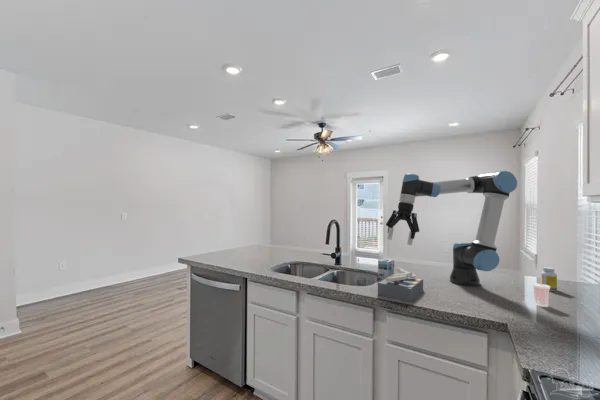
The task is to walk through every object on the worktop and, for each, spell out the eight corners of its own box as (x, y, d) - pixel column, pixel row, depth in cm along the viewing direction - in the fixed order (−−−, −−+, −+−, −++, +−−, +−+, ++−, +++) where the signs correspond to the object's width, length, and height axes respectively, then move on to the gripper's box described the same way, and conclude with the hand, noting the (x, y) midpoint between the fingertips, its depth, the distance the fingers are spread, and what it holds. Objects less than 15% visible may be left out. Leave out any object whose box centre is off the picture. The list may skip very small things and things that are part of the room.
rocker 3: (415, 277, 149) (416, 274, 148) (413, 279, 146) (414, 276, 145) (397, 269, 154) (397, 266, 154) (394, 270, 152) (395, 267, 151)
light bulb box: (388, 280, 168) (388, 262, 168) (377, 278, 172) (377, 260, 172) (394, 276, 177) (394, 259, 177) (384, 274, 181) (384, 258, 181)
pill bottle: (560, 291, 148) (560, 269, 149) (547, 291, 149) (547, 269, 149) (549, 287, 155) (549, 266, 155) (537, 287, 155) (537, 266, 155)
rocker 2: (412, 274, 143) (411, 271, 143) (410, 276, 140) (409, 273, 140) (393, 277, 149) (392, 274, 149) (391, 278, 146) (390, 275, 146)
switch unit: (423, 290, 148) (423, 276, 148) (411, 301, 131) (411, 286, 131) (392, 285, 158) (393, 272, 158) (377, 294, 140) (377, 280, 140)
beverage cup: (538, 307, 125) (538, 275, 125) (529, 302, 131) (529, 272, 131) (554, 308, 124) (553, 276, 125) (544, 303, 130) (543, 272, 131)
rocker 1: (408, 277, 137) (407, 274, 137) (405, 279, 134) (404, 275, 135) (388, 280, 143) (387, 277, 143) (386, 281, 140) (385, 278, 140)
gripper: (384, 199, 159) (377, 236, 159) (421, 203, 137) (413, 246, 137) (393, 202, 163) (386, 238, 162) (431, 206, 141) (423, 247, 140)
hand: (398, 242), depth 149 cm, fingers open, 13 cm apart
